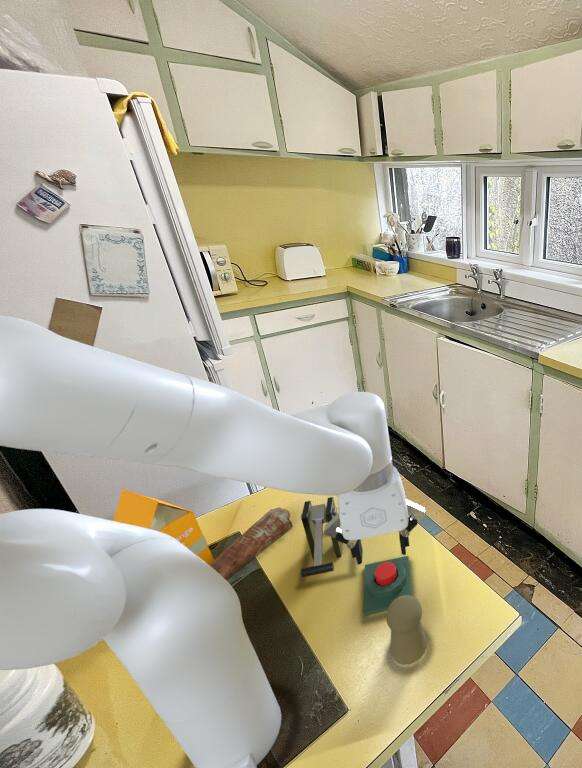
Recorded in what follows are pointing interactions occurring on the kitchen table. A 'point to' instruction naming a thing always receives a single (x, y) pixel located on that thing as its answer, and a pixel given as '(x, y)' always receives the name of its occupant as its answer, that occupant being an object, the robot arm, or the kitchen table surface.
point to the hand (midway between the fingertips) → (382, 552)
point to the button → (385, 573)
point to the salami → (252, 542)
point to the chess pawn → (406, 630)
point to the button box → (383, 596)
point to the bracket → (310, 527)
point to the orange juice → (163, 521)
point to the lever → (318, 543)
